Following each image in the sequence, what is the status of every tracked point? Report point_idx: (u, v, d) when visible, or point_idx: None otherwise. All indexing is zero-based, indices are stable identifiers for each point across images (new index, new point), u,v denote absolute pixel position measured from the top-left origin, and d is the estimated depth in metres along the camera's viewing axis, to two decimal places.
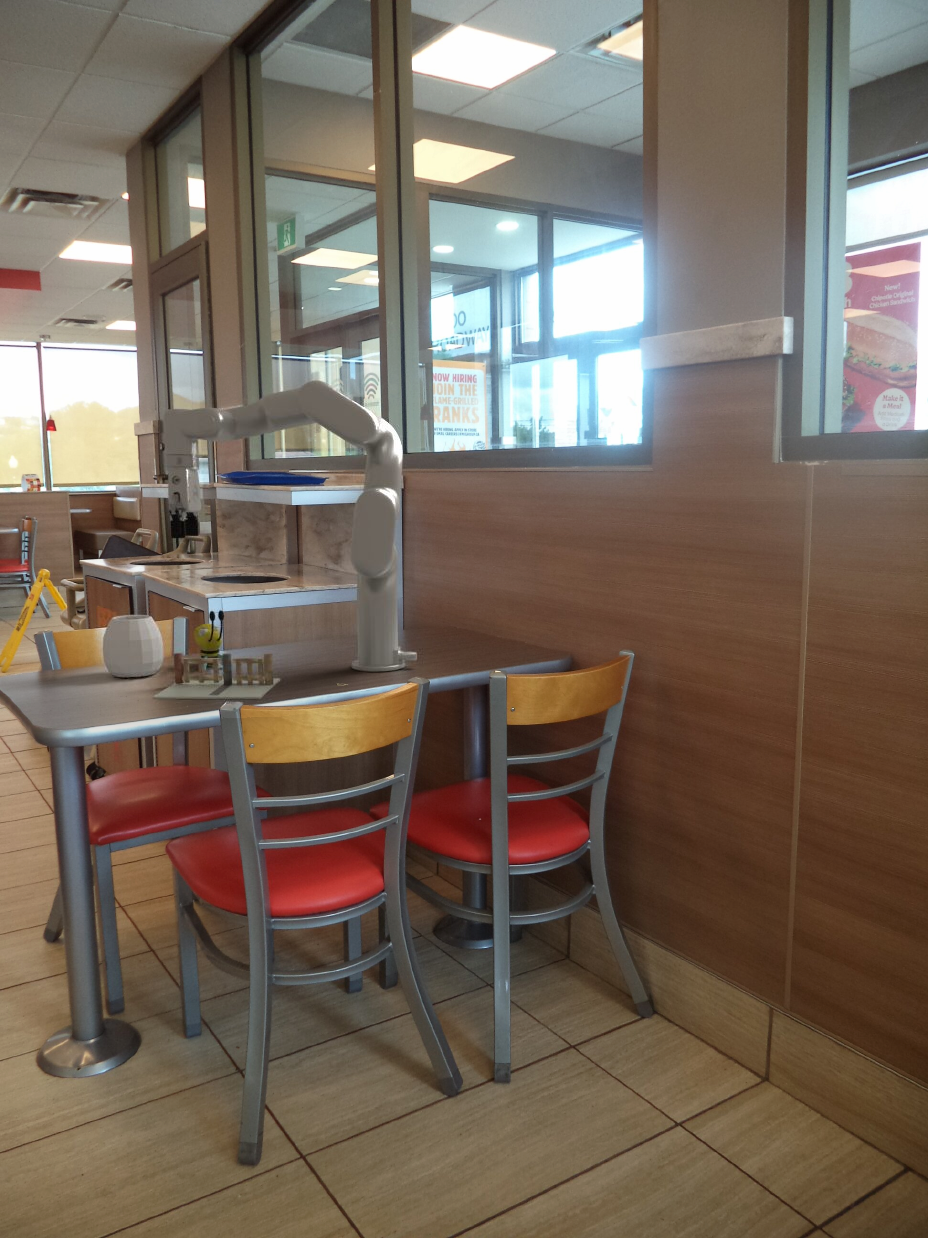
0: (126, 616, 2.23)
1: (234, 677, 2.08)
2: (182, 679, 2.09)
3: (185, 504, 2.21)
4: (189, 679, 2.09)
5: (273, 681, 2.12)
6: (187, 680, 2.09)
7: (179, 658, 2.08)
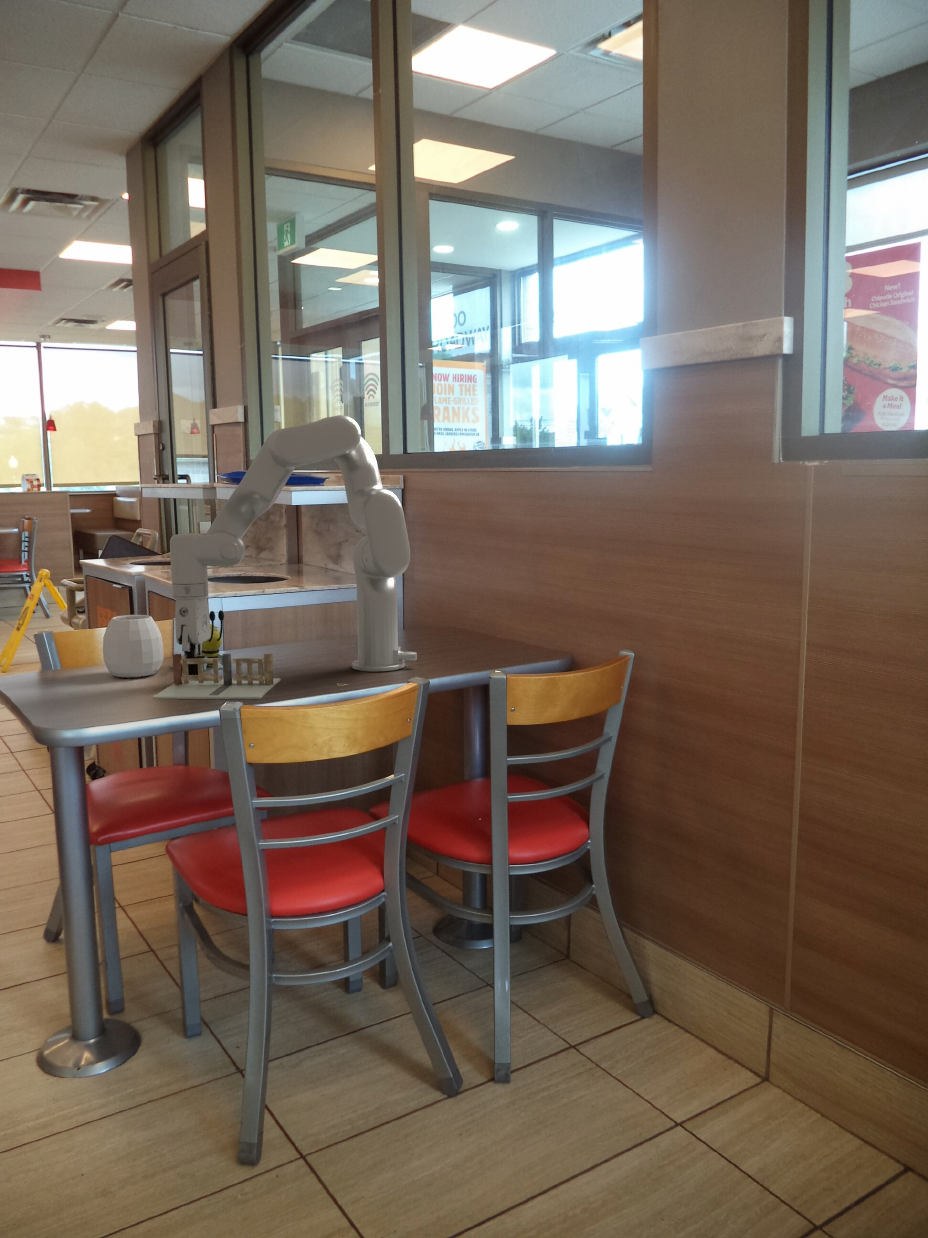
0: (126, 616, 2.23)
1: (234, 677, 2.08)
2: (181, 680, 2.08)
3: (193, 637, 2.05)
4: (188, 680, 2.08)
5: (273, 681, 2.12)
6: (186, 680, 2.08)
7: (178, 659, 2.07)
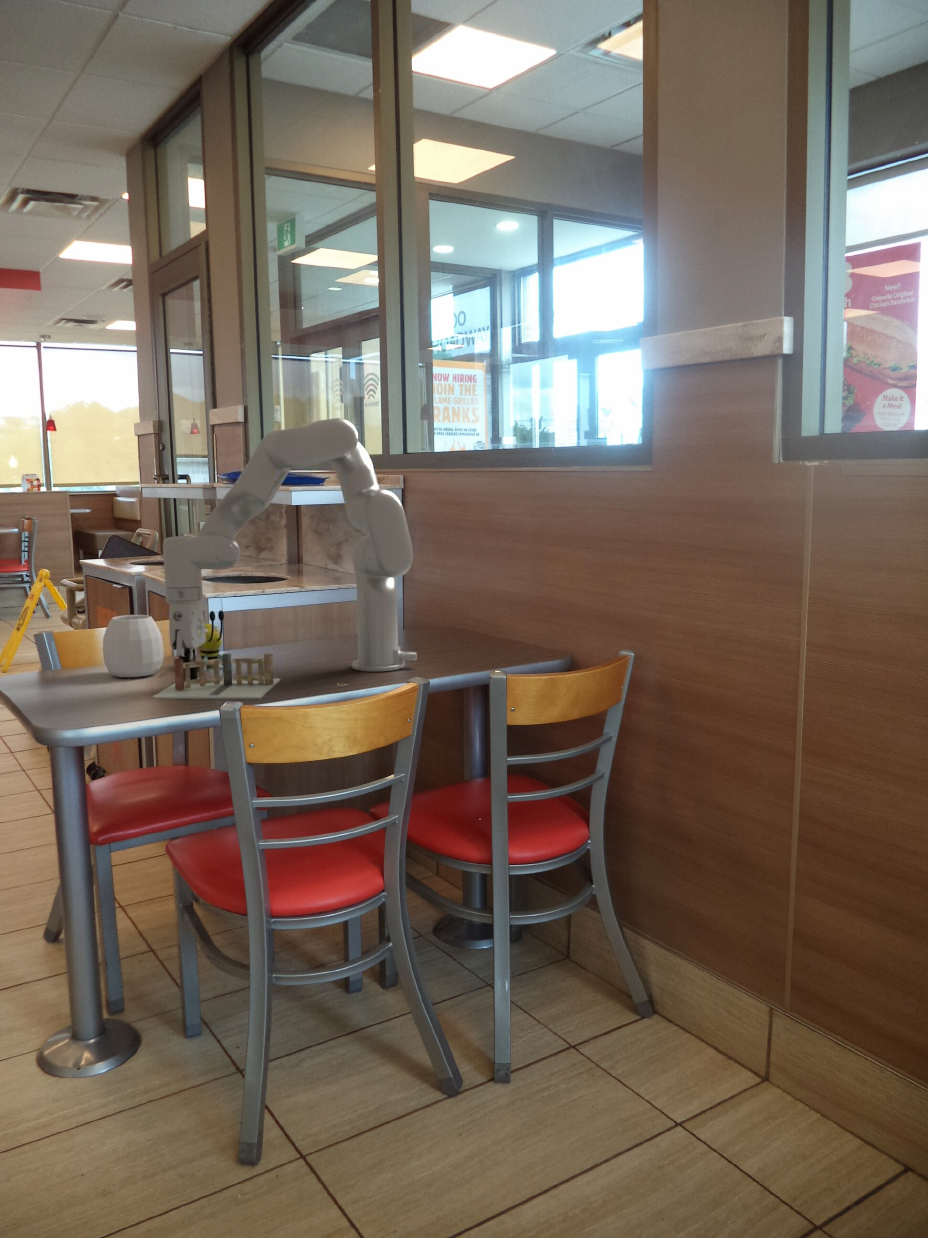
0: (126, 616, 2.23)
1: (234, 677, 2.08)
2: (184, 685, 2.03)
3: (188, 642, 2.01)
4: (191, 684, 2.04)
5: (273, 681, 2.12)
6: (189, 685, 2.03)
7: (182, 663, 2.02)
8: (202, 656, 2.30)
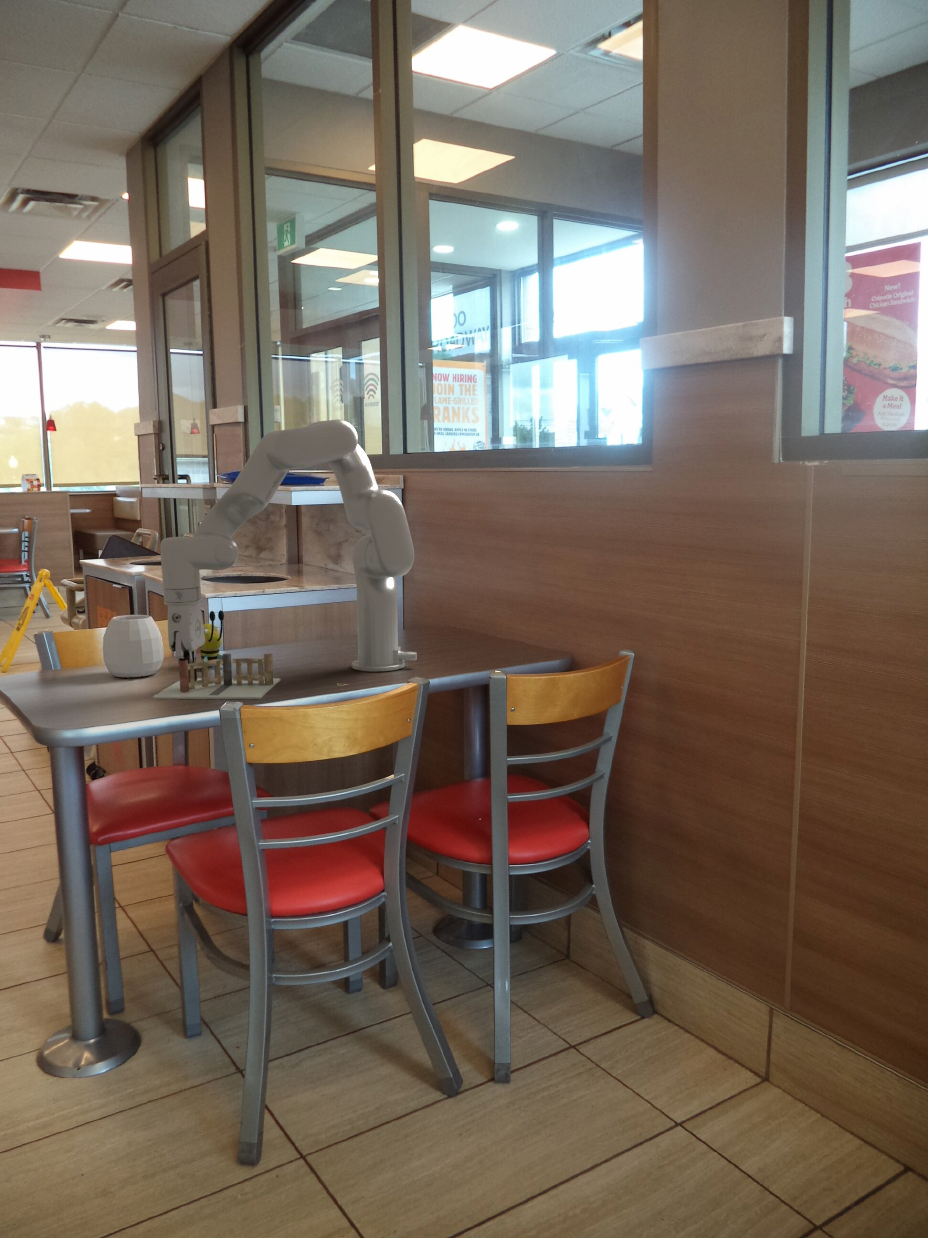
0: (126, 616, 2.23)
1: (234, 677, 2.08)
2: (189, 686, 2.02)
3: (187, 644, 1.99)
4: (195, 685, 2.03)
5: (273, 681, 2.12)
6: (193, 686, 2.02)
7: (187, 664, 2.00)
8: (202, 656, 2.30)
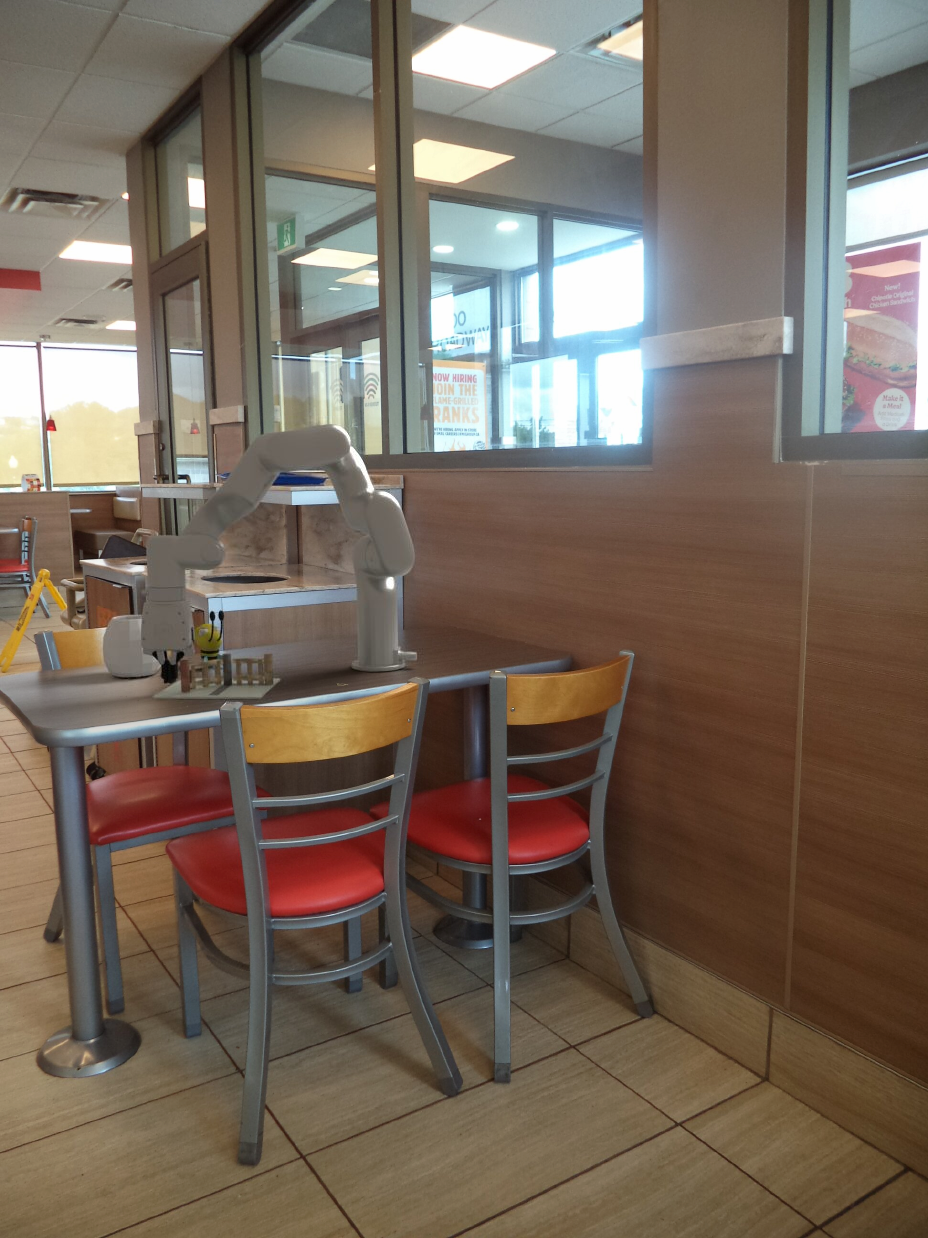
0: (126, 616, 2.23)
1: (234, 677, 2.08)
2: (190, 687, 2.01)
3: (141, 641, 1.99)
4: (196, 685, 2.02)
5: (273, 681, 2.12)
6: (194, 686, 2.02)
7: (188, 665, 2.00)
8: (202, 656, 2.30)
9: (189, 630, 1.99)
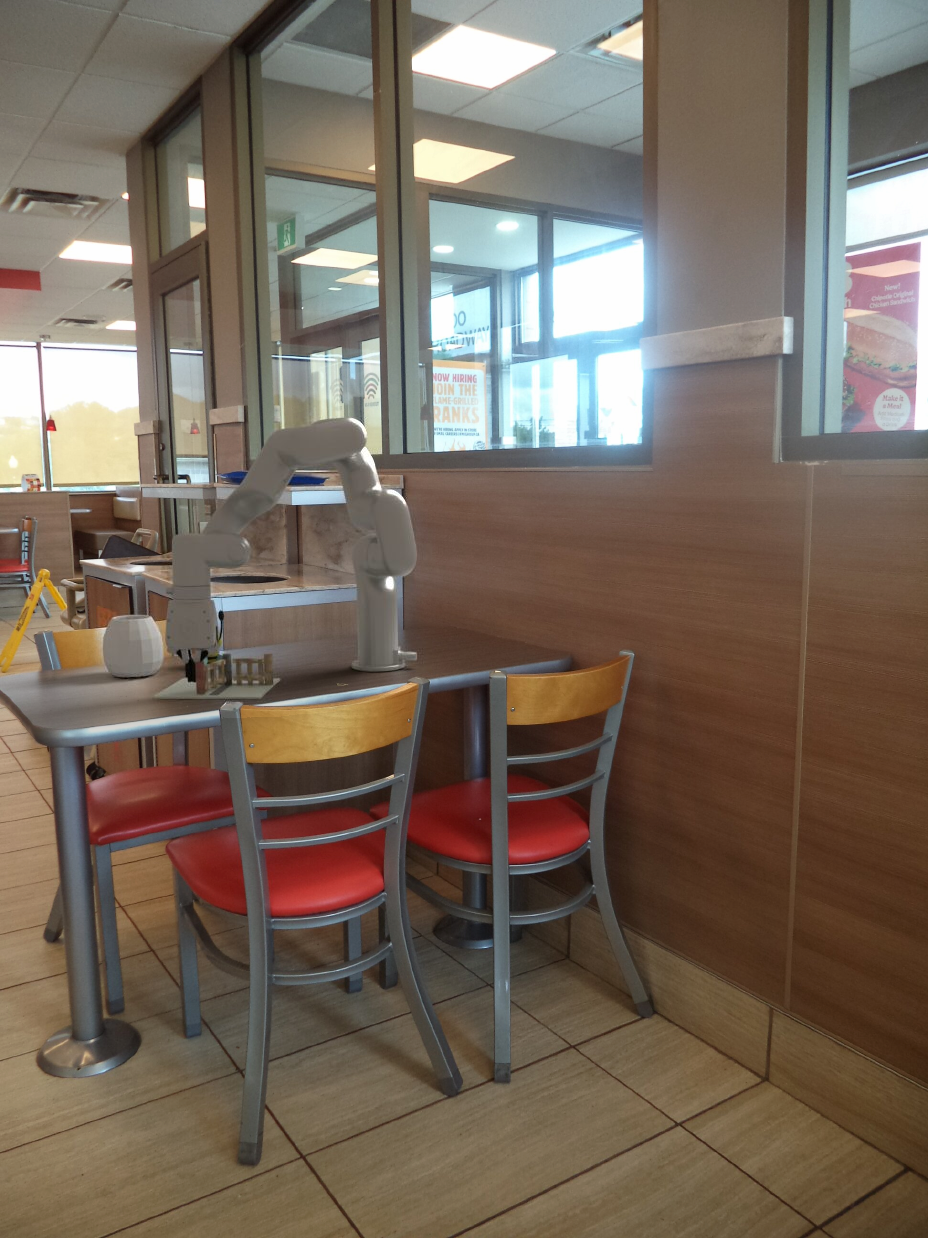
0: (126, 616, 2.23)
1: (234, 677, 2.08)
2: (205, 688, 2.00)
3: None
4: (208, 686, 2.01)
5: (273, 681, 2.12)
6: (207, 688, 2.00)
7: (204, 666, 1.98)
8: None
9: (214, 629, 1.98)
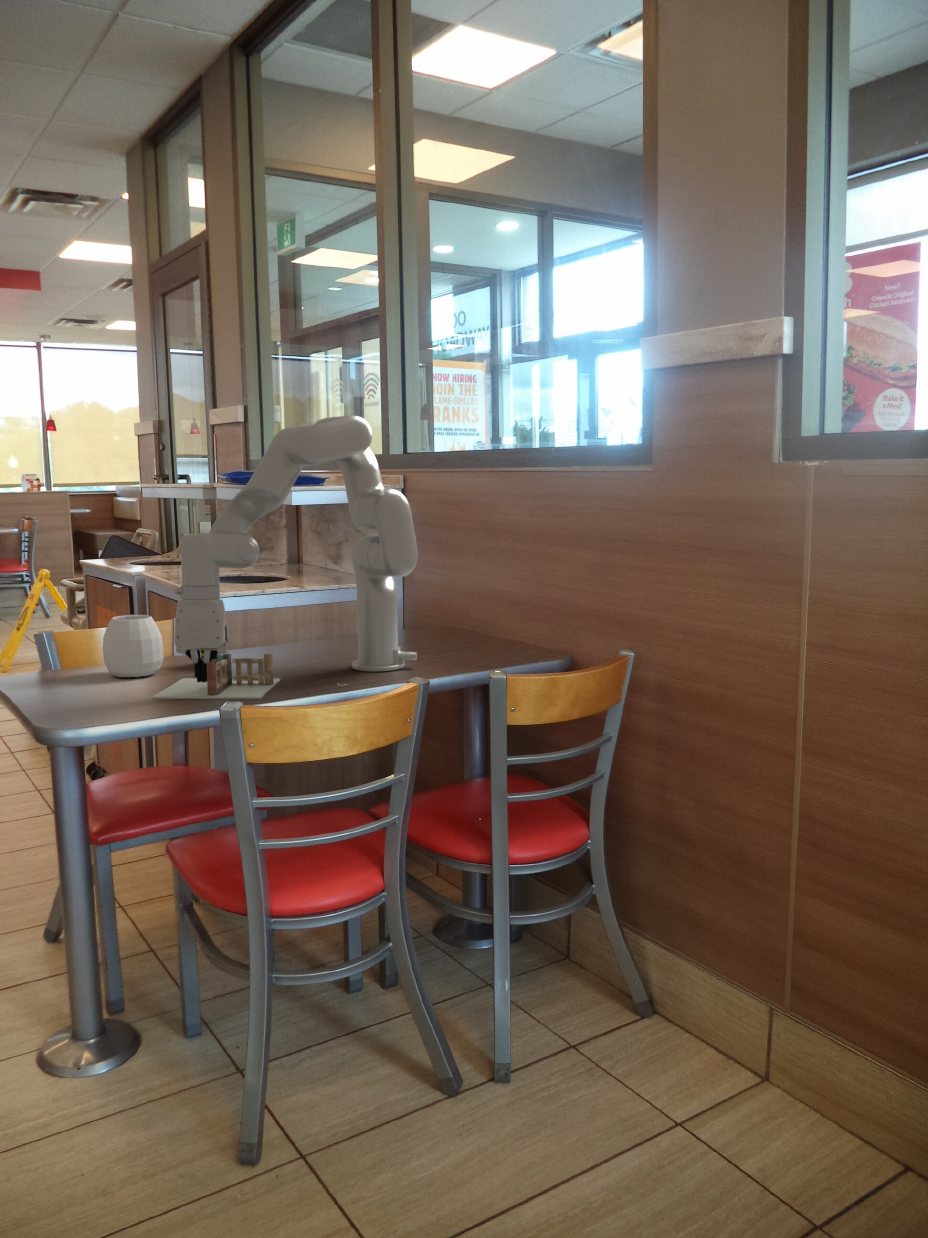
0: (126, 616, 2.23)
1: (234, 677, 2.08)
2: None
3: (175, 639, 1.99)
4: (217, 687, 2.01)
5: (273, 681, 2.12)
6: (217, 688, 2.00)
7: None
8: (202, 656, 2.30)
9: (223, 629, 1.98)
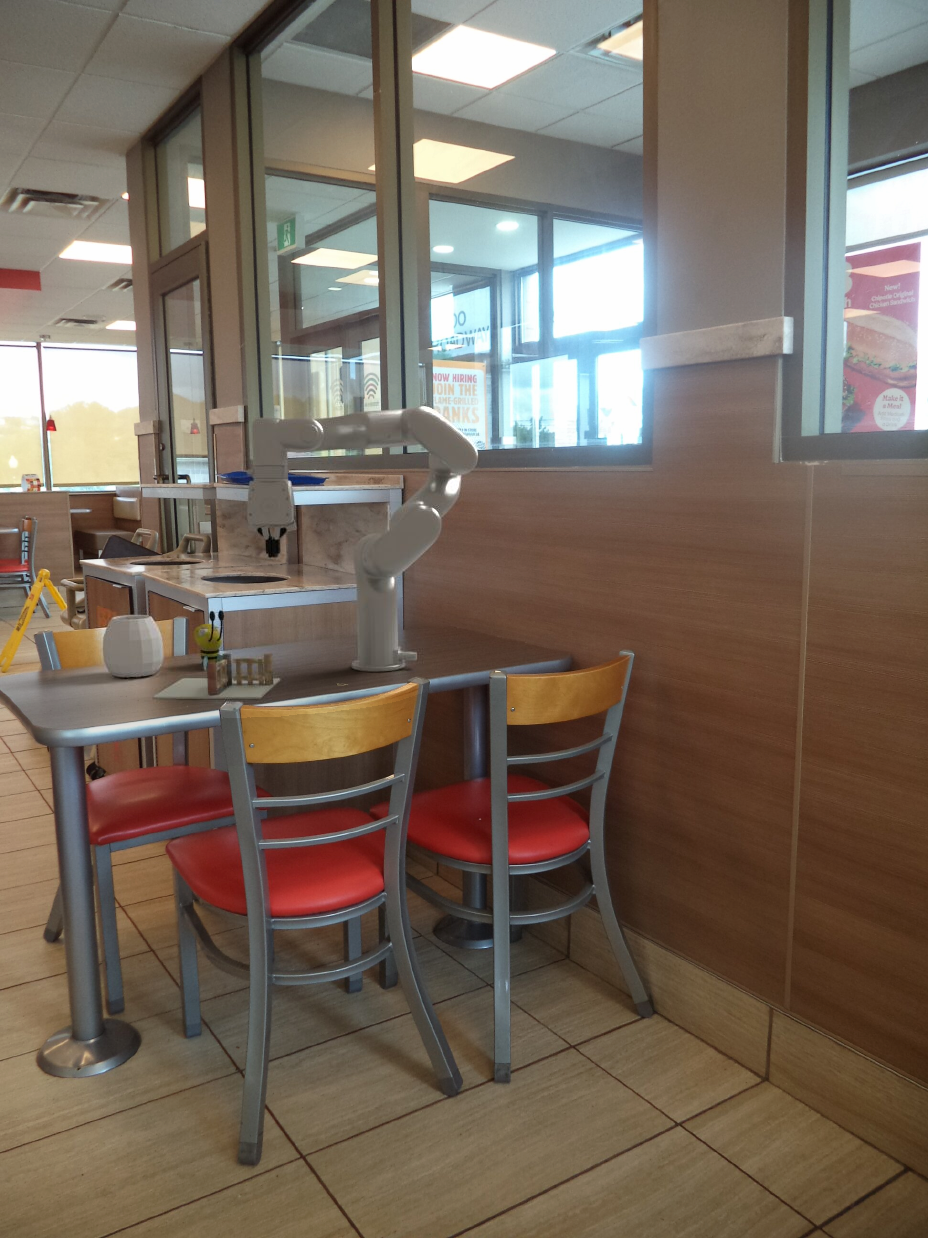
0: (126, 616, 2.23)
1: (234, 677, 2.08)
2: None
3: None
4: (217, 687, 2.01)
5: (273, 681, 2.12)
6: (217, 688, 2.00)
7: None
8: (202, 656, 2.30)
9: (292, 506, 2.14)
